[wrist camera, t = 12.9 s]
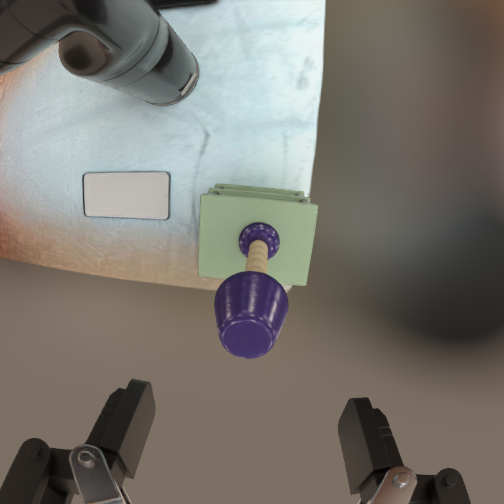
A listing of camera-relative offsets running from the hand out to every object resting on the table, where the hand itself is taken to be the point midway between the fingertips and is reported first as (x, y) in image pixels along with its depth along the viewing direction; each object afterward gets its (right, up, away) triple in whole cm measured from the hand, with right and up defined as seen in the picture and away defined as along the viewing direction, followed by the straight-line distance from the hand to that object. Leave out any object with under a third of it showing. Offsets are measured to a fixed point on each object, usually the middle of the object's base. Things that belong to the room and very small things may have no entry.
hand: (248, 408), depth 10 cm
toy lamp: (+1, +7, +20) cm, 22 cm away
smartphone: (-19, +15, +30) cm, 38 cm away
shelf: (+1, +11, +31) cm, 32 cm away
